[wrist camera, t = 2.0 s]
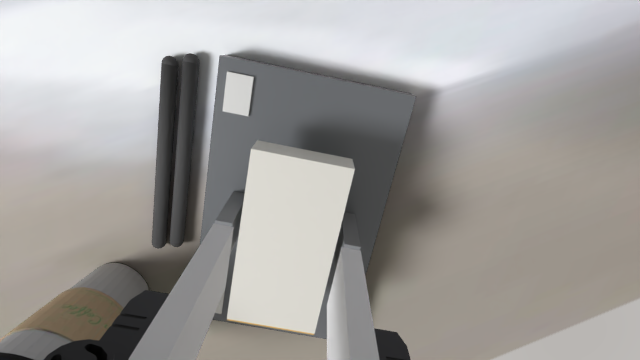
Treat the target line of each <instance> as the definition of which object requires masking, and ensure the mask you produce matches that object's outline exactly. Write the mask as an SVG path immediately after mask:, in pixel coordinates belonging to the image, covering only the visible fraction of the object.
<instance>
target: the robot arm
mask: <svg viewBox="0 0 640 360" xmlns="http://www.w3.org/2000/svg"><path fill="white" fill-rule="evenodd" d="M233 229H234V227H230V226H224V225H219V224H213V225H212V227H211V229H210V230H209V232H208V233H207V235H206V236H205V238H204V240H203V241H202V243H201V244H200V246H199V248H198V249H197V251H196V252H195V254H194V256H193V257H192V259H191V260H190V262H189V264H188V265H187V267H186V268H185V270H184V272H183V273H182V275H181V276H180V278H179V279H178V281H177V283H176V284H175V286H174V287H173V289H172V291H171V292H170V294H166V293H160V292H155V291H149V290H145V291H143V292H142V293H140V294H139V295H137V296H135V297H134V298H132V299H131V300H130V301H129V302H128V303H127V305H126V306H125V307H124V309H123V310H122V311H121V313H120V315H118V316H117V318H116V319H115V320H114V322H113V323H112V326H110V327H109V328H108V329H107V331H106V332H105V333H104V335H103V336H102V337H101V339H100V340H99V341H98V340H92V339H86V340H78V341H73V342H71V343H68V344H65V345H62V346H60V347H59V348H57V349H56V350H54V351H52V352H51V353H49V354H48V355H47V356H46V358H45V359H44V360H196V358H197V355H198V353H199V350H200V348H201V346H202V343H203V341H204V338H205V336H206V333H207V331H208V329H209V326H210V324H211V321H212V319H213V317H214V314H215V312H216V309H217V307H218V304H219V302H220V300H221V297H222V295H223V292H224V290H225V287H226V280H227V273H228V266H229V258H230V251H231V244H232V236H233ZM327 360H410V356H409V353H408V349H407V346H406V344H405V343H404V342H403V340H402V339H401V337H400V336H399V335H398V333H397V332H392V331H386V330H380V329H374V325H373V319H372V313H371V307H370V301H369V296H368V290H367V284H366V278H365V272H364V266H363V261H362V255H361V251H359V250H354V249H349V248H343V247H341V251H340V255H339V259H338V263H337V267H336V271H335V275H334V279H333V283H332V287H331V291H330V295H329V299H328V303H327Z"/></svg>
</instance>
